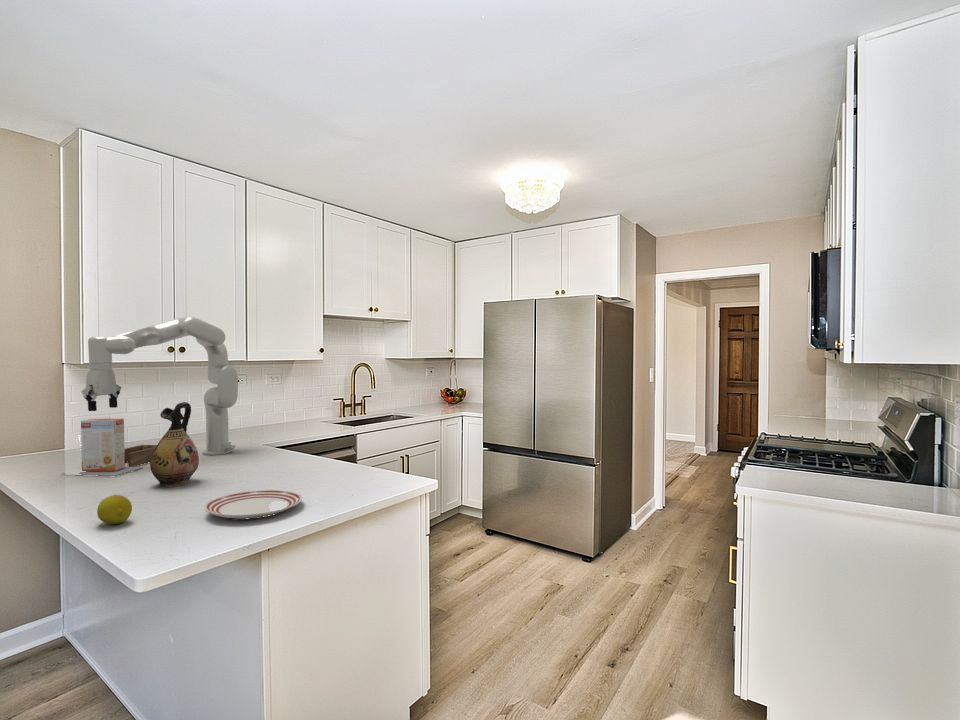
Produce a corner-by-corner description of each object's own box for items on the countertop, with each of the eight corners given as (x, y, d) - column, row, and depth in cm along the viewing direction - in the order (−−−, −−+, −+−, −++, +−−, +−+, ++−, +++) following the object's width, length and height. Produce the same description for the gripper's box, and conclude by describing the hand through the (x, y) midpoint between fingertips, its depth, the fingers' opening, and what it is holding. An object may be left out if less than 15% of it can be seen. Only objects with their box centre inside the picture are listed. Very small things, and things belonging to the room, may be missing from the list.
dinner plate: (273, 492, 174) (273, 483, 174) (319, 508, 157) (319, 497, 157) (188, 513, 153) (188, 502, 153) (231, 533, 136) (231, 521, 136)
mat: (142, 468, 210) (142, 467, 210) (114, 477, 196) (114, 475, 196) (91, 467, 213) (91, 465, 213) (60, 475, 199) (59, 473, 199)
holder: (164, 458, 230) (164, 445, 230) (131, 467, 211) (130, 453, 211) (142, 457, 232) (141, 444, 231) (106, 466, 213) (106, 452, 213)
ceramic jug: (177, 490, 177) (175, 405, 176) (140, 488, 180) (138, 404, 179) (212, 478, 194) (210, 400, 193) (177, 476, 197) (176, 400, 196)
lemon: (136, 524, 143) (135, 496, 142) (102, 531, 137) (101, 502, 137) (126, 515, 150) (126, 489, 150) (94, 522, 144) (93, 494, 144)
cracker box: (125, 468, 207) (125, 418, 207) (114, 472, 201) (113, 420, 201) (93, 468, 208) (92, 417, 208) (81, 471, 202) (80, 419, 202)
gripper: (111, 366, 213) (113, 406, 213) (72, 368, 196) (75, 412, 196) (127, 365, 212) (128, 406, 212) (90, 368, 195) (92, 412, 195)
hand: (103, 409), depth 204 cm, fingers open, 9 cm apart
